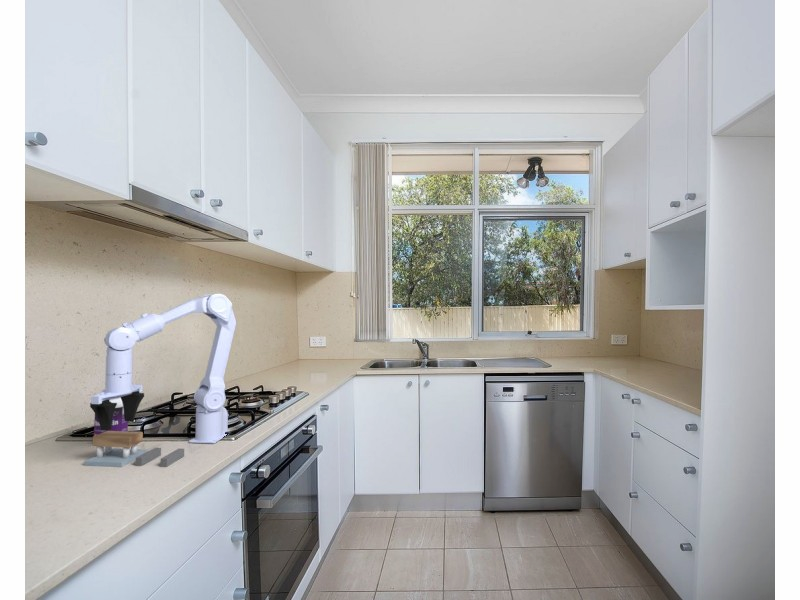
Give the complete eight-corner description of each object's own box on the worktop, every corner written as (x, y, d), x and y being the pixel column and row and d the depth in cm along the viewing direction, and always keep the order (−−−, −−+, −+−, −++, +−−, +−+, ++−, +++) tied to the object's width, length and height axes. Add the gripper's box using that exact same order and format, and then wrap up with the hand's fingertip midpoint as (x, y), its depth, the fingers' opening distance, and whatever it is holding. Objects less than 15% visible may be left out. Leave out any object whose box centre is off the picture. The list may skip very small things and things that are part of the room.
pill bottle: (87, 446, 110) (88, 395, 110) (103, 437, 117) (104, 389, 118) (119, 444, 111) (120, 394, 111) (132, 435, 119) (133, 388, 119)
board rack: (155, 455, 103) (155, 447, 103) (184, 456, 103) (184, 448, 103) (135, 465, 96) (135, 457, 96) (166, 466, 96) (166, 458, 96)
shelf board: (107, 440, 103) (107, 430, 103) (142, 441, 102) (142, 432, 102) (92, 446, 99) (93, 436, 99) (129, 447, 98) (129, 437, 98)
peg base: (113, 452, 105) (113, 437, 105) (147, 453, 104) (148, 438, 105) (83, 465, 96) (84, 449, 96) (121, 466, 96) (121, 450, 96)
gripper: (126, 368, 108) (125, 416, 108) (80, 378, 94) (78, 433, 94) (150, 369, 108) (149, 417, 108) (107, 378, 93) (106, 434, 93)
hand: (118, 425), depth 101 cm, fingers open, 7 cm apart
